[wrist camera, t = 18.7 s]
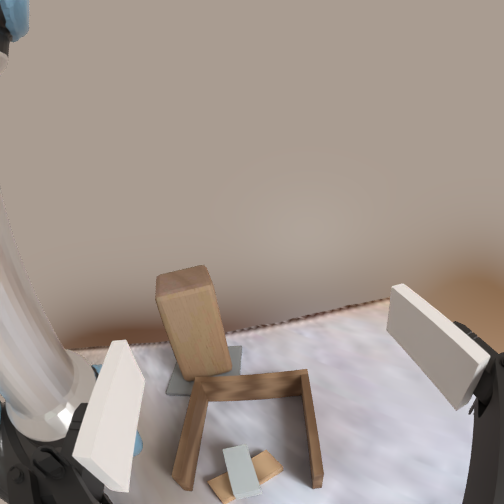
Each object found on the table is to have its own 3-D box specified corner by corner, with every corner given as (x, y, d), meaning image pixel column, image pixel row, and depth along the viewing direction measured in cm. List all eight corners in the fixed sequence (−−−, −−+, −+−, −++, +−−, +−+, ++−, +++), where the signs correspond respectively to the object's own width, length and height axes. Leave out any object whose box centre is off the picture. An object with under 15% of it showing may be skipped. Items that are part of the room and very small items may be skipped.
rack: (184, 490, 29) (171, 476, 27) (202, 396, 48) (195, 377, 46) (321, 487, 28) (323, 473, 26) (307, 389, 47) (307, 368, 45)
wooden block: (224, 343, 62) (205, 262, 55) (234, 372, 53) (213, 283, 46) (180, 354, 60) (154, 273, 53) (185, 384, 51) (153, 297, 44)
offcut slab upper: (262, 493, 27) (260, 488, 26) (236, 499, 26) (233, 495, 26) (248, 450, 34) (246, 443, 34) (225, 455, 34) (222, 449, 33)
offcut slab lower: (224, 505, 27) (221, 501, 26) (210, 486, 30) (207, 481, 30) (283, 471, 32) (282, 466, 31) (267, 455, 35) (266, 449, 34)
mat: (166, 395, 49) (165, 393, 49) (181, 350, 62) (181, 348, 62) (238, 394, 48) (237, 392, 48) (242, 347, 61) (241, 345, 61)
